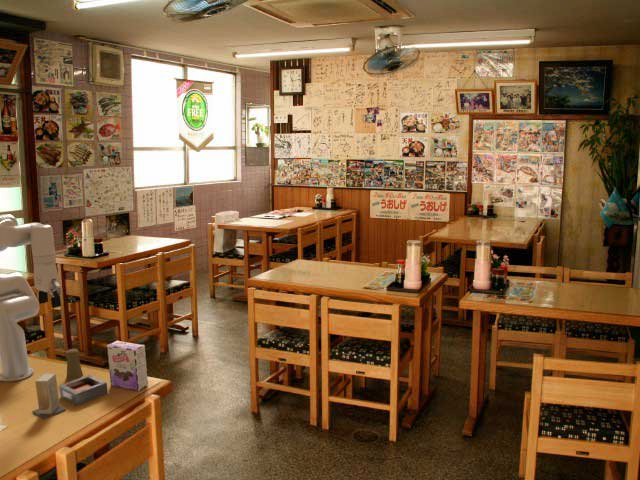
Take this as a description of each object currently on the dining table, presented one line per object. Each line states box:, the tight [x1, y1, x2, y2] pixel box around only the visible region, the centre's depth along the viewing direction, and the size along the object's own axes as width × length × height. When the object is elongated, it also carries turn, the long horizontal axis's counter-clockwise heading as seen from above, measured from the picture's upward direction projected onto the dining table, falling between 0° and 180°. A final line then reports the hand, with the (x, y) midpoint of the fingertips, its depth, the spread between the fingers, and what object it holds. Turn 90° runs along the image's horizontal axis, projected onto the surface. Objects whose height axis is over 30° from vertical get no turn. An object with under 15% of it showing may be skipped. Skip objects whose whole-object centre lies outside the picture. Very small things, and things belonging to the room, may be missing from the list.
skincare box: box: [35, 373, 61, 414], centre depth 208 cm, size 6×4×12 cm
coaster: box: [32, 405, 67, 420], centre depth 209 cm, size 8×8×1 cm
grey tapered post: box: [64, 348, 84, 380], centre depth 238 cm, size 6×6×11 cm
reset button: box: [73, 384, 92, 392], centre depth 220 cm, size 7×7×2 cm
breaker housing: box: [58, 374, 109, 407], centre depth 220 cm, size 12×12×4 cm
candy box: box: [106, 340, 149, 392], centre depth 227 cm, size 14×6×16 cm, turn 65°
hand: (50, 304), depth 220 cm, fingers open, 9 cm apart
